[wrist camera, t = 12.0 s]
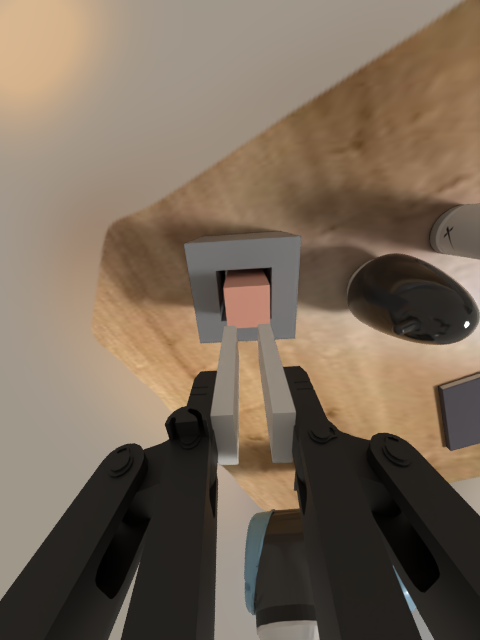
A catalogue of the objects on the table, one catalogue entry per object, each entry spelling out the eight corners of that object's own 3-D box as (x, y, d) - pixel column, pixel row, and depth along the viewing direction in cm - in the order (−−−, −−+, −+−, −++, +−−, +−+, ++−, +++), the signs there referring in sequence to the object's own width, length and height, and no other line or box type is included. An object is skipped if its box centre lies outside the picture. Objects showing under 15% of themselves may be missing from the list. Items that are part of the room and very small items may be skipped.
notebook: (435, 384, 42) (444, 444, 50) (442, 390, 40) (450, 451, 49) (507, 360, 39) (504, 428, 47) (517, 365, 38) (512, 434, 46)
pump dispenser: (337, 255, 31) (415, 282, 17) (410, 245, 30) (554, 264, 16) (333, 317, 35) (393, 379, 21) (397, 309, 34) (502, 368, 21)
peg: (260, 293, 29) (270, 326, 19) (231, 295, 29) (227, 328, 20) (259, 263, 27) (269, 284, 18) (229, 265, 27) (223, 288, 18)
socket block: (278, 304, 34) (294, 338, 24) (212, 307, 34) (200, 343, 24) (280, 231, 29) (301, 236, 19) (202, 236, 29) (183, 243, 20)
